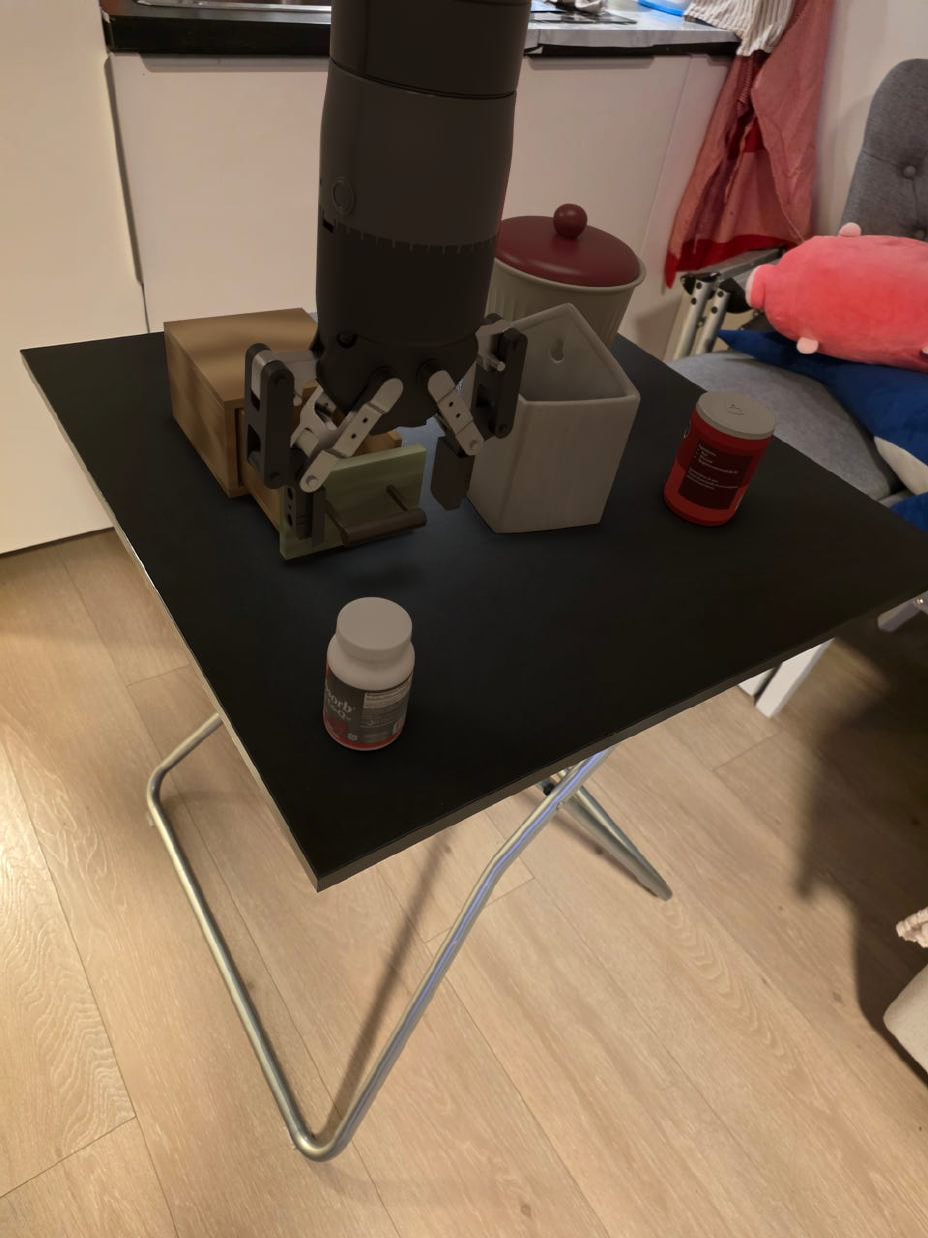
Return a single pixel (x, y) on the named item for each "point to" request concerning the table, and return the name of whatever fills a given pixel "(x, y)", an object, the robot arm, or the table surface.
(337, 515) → the drawer
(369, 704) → the pill bottle
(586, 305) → the canister
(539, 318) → the planter
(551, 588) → the table surface
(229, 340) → the cabinet
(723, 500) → the red supplement jar
